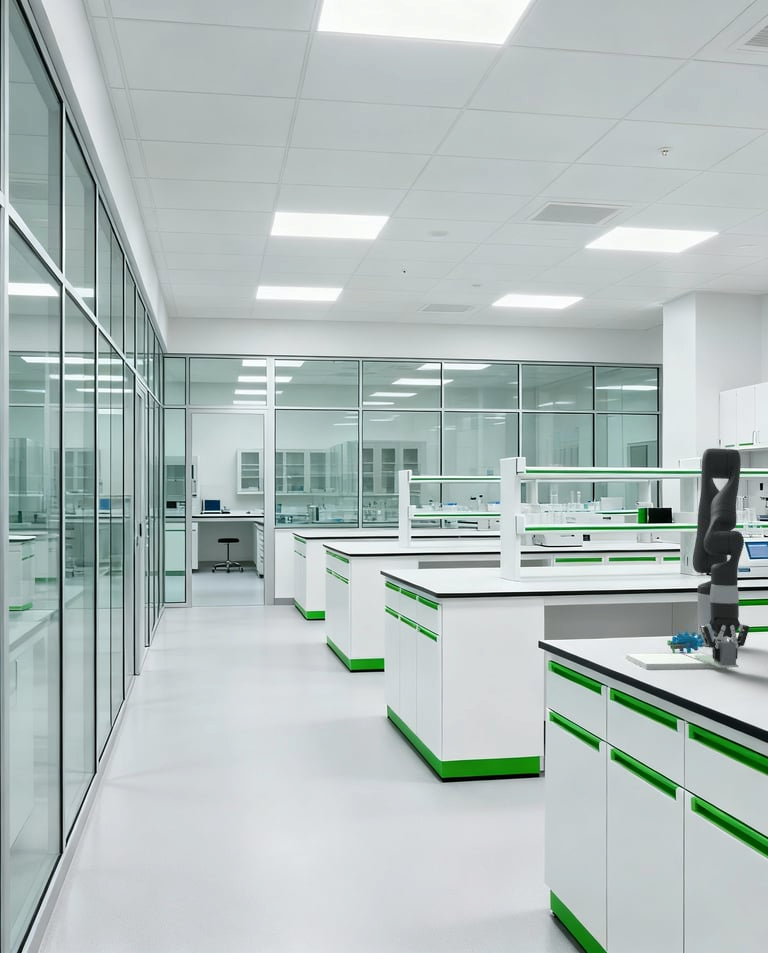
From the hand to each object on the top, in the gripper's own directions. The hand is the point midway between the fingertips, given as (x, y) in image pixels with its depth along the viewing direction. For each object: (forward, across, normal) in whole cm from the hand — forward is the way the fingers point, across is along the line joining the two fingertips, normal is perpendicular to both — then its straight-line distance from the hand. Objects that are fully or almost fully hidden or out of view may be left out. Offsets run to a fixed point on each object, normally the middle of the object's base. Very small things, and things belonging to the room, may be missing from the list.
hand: (724, 660), depth 245 cm
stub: (+1, 0, -6) cm, 6 cm away
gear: (+3, -2, -30) cm, 30 cm away
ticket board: (+3, +9, -13) cm, 16 cm away
